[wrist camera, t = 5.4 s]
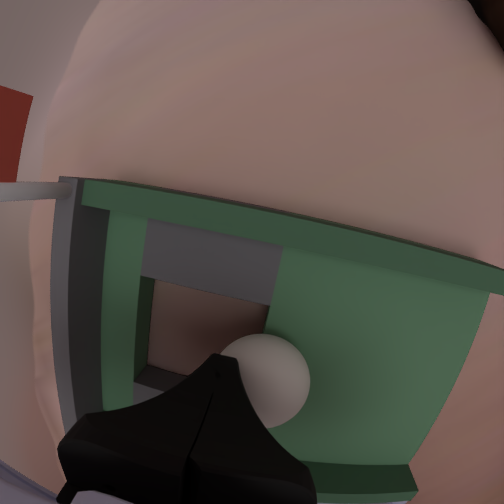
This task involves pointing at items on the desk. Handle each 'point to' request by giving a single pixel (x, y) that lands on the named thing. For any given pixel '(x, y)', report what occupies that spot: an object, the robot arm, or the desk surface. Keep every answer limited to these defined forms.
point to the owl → (491, 16)
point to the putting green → (277, 319)
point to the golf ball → (271, 376)
